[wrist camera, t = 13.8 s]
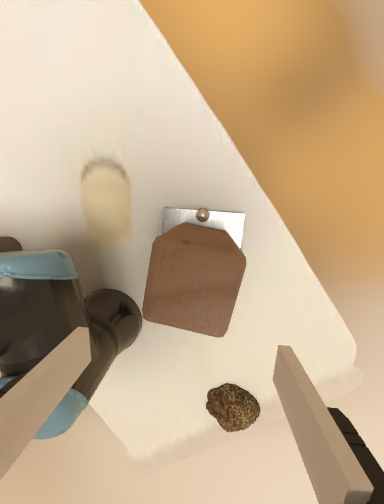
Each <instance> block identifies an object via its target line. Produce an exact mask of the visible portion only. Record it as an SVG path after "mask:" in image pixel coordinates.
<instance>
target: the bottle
mask: <svg viewBox="0 0 384 504" xmlns="http://www.w3.org/2000/svg"><path fill="white" fill-rule="evenodd" d="M15 251H22V248H21V246H20V244H19V243H18V241H17V240H15V239H14V238H11V237H1V238H0V253H4V252H15Z"/></svg>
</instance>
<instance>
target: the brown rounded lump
mask: <svg viewBox="0 0 384 504" xmlns="http://www.w3.org/2000/svg"><path fill="white" fill-rule="evenodd" d="M207 397H208V401H209V402H208V403H207V404H206V409H207V410H208V411H209V413H210V415H212V416H214V418H216V419H217V421H218V422H219V424H220V426H221V427H222V428H223V429H224V430H226V431H227V432H234V431H239V430H244V429H246V428H248V427H250V425H251V424H254V422H255V421H256V418H258V416H259V414H260V406H259V404H258V403H257V401H256V399H255V398H254V397H252V395H250V394H249V393H248V392H247V391H246V390H243V389H241V388H239V387H237V386H236V385H233V384H226V385H224V386H222V387H221V388H219V389H212V390H210V391H209V392H208V395H207Z"/></svg>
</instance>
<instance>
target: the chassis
mask: <svg viewBox="0 0 384 504" xmlns="http://www.w3.org/2000/svg"><path fill="white" fill-rule="evenodd" d="M244 219H245V213H232V212H219V211H208V210H207V209H204V208H202V209H199V210H192V209H178V208H165V207H164V208H163V227H162V234H163V233H165V232H167V231H169V230H170V229H172V228H174V227H175V226H177V225H179V224H181V223H190V224H195V225H199V226H204V227H208V228H213V229H218V230H222V231H226V232H227V233H229V235H230V236H231V237H232V239H233V240H234V242H235V243H236V244H237V246H238V247H239V249H241V241H242V234H243V226H244Z"/></svg>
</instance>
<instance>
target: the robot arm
mask: <svg viewBox="0 0 384 504" xmlns="http://www.w3.org/2000/svg"><path fill="white" fill-rule="evenodd" d="M141 327H142V317H141V313H140V310H139V308H138V307H137V305H136V304H135V302H134V301H133V300H132V299H131V298H130V297H128V296H127V295H125V294H123V293H121V292H119V291H116V290H110V289H104V290H99V291H96V292H94V293H92V294H91V295H89V296H88V297H87V298H85V299H84V296H83V293H82V289H81V285H80V282H79V274H77V272H76V269H75V266H74V263H73V260H72V258H71V256H70V255H69V254H68V253H67V252H65V251H63V250H59V249H43V250H27V251H15V252H4V253H0V372H1V378H0V480H1V479H2V478H3V476H4V475H5V474H6V472H7V471H8V470H9V468H10V467H11V466H12V464H13V463H14V462H15V460H16V459H17V458H18V456H19V455H20V454H21V453H22V451H23V450H24V449H25V447H26V446H27V445H28V443H29V442H30V441H31V439H49V438H53V437H57V436H59V435H61V434H62V433H64V432H66V431H67V430H68V429H69V428H70V427H71V426H72V425H73V423H74V422H75V420H76V419H77V418H78V416H79V415H80V413H81V412H82V410H84V409H85V408H86V407H87V405H88V402H89V400H90V399H91V397H92V395H93V394H94V392H95V390H96V389H97V387H98V386H99V384H100V382H101V381H102V379H103V377H104V376H105V374H106V372H107V371H108V369H109V367H110V366H111V364H112V362H113V361H114V359H115V357H116V356H117V355H118V354H120V353H121V352H122V351H123V350H125V349H126V348H128V347H129V346H130V345H131V344H132V343H133V342H134V341H135V340H136V338H137V336H138V334H139V333H140V330H141ZM273 382H274V384H275V387H276V390H277V392H278V395H279V398H280V400H281V403H282V406H283V408H284V411H285V414H286V416H287V419H288V421H289V424H290V427H291V430H292V432H293V435H294V437H295V440H296V443H297V446H298V448H299V451H300V454H301V457H302V459H303V462H304V465H305V467H306V470H307V473H308V475H309V478H310V481H311V483H312V486H313V489H314V491H315V494H316V497H317V499H318V502H319V504H384V472H383V470H382V469H381V467H380V466H379V464H378V463H377V461H376V459H375V458H374V457H373V455H372V453H371V452H370V450H369V449H368V448H367V447H366V445H365V443H364V441H363V440H362V438H361V437H360V436H359V435H358V432H357V431H356V429H355V428H354V426H353V425H352V423H351V422H350V420H349V419H348V418H347V417H346V416H345V415H344V414H343V413H342V412H341V411H340V410H339V409H338V408H329V407H326V406H325V404H324V402H323V401H322V399H321V397H320V396H319V394H318V392H317V391H316V389H315V387H314V385H313V384H312V382H311V380H310V379H309V377H308V375H307V374H306V372H305V370H304V369H303V367H302V365H301V363H300V362H299V360H298V358H297V357H296V355H295V353H294V352H293V350H292V348H291V346H282V345H278V351H277V357H276V363H275V369H274V374H273Z"/></svg>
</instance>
